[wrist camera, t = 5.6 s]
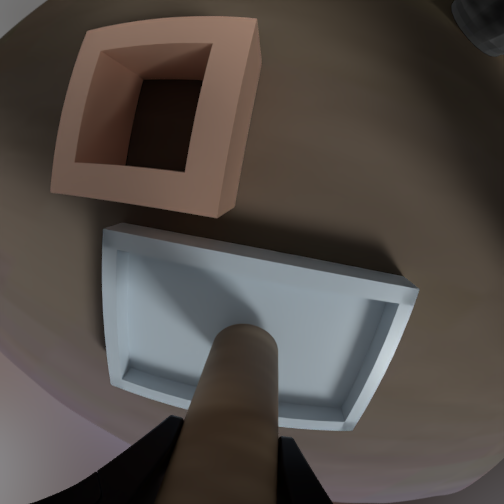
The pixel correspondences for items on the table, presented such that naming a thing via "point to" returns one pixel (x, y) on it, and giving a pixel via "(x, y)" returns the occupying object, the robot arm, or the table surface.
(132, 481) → the robot arm
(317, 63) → the table surface
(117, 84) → the holder
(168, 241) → the tray
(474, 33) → the beverage cup
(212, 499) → the dowel
